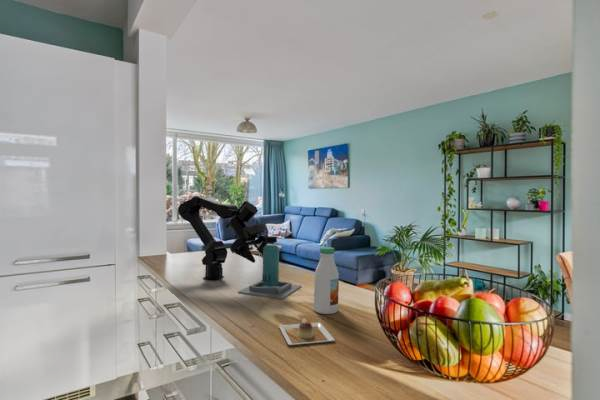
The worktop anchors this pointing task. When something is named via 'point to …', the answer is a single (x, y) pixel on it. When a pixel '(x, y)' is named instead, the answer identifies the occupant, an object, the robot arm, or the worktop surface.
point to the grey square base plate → (270, 290)
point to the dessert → (306, 331)
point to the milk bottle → (326, 283)
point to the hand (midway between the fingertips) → (262, 260)
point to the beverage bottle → (271, 263)
